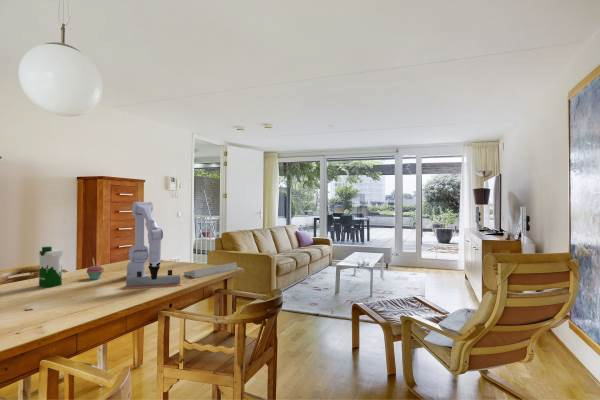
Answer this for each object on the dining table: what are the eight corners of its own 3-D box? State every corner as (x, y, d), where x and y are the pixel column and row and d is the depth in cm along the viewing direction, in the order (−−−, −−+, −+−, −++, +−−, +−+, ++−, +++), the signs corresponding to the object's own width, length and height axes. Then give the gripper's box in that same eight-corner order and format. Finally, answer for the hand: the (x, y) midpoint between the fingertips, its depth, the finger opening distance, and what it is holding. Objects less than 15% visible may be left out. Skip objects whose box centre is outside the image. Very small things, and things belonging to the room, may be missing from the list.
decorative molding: (184, 280, 209) (195, 278, 203) (183, 272, 210) (194, 270, 204) (227, 271, 237) (237, 269, 231) (226, 264, 238) (236, 262, 232)
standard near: (133, 284, 185) (133, 275, 185) (135, 280, 195) (135, 271, 195) (142, 284, 186) (142, 274, 186) (143, 279, 197) (143, 270, 197)
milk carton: (35, 286, 177) (36, 246, 177) (54, 282, 185) (55, 245, 185) (46, 288, 173) (47, 248, 173) (64, 284, 182) (65, 246, 182)
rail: (126, 287, 178) (126, 279, 178) (127, 285, 182) (127, 277, 182) (180, 283, 187) (180, 276, 187) (179, 282, 191) (180, 274, 191)
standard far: (165, 282, 191) (166, 273, 191) (165, 278, 201) (165, 269, 201) (174, 282, 192) (174, 273, 192) (173, 277, 202) (174, 269, 202)
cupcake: (82, 279, 194) (83, 257, 194) (96, 276, 202) (97, 255, 202) (93, 280, 191) (93, 259, 191) (107, 277, 199) (107, 256, 199)
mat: (124, 289, 175) (124, 288, 175) (126, 285, 184) (126, 284, 184) (181, 285, 185) (181, 284, 185) (180, 281, 194) (180, 281, 194)
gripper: (162, 253, 179) (162, 280, 179) (163, 249, 193) (162, 274, 193) (147, 254, 177) (147, 281, 177) (149, 250, 190) (148, 275, 190)
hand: (154, 277), depth 185 cm, fingers open, 7 cm apart
